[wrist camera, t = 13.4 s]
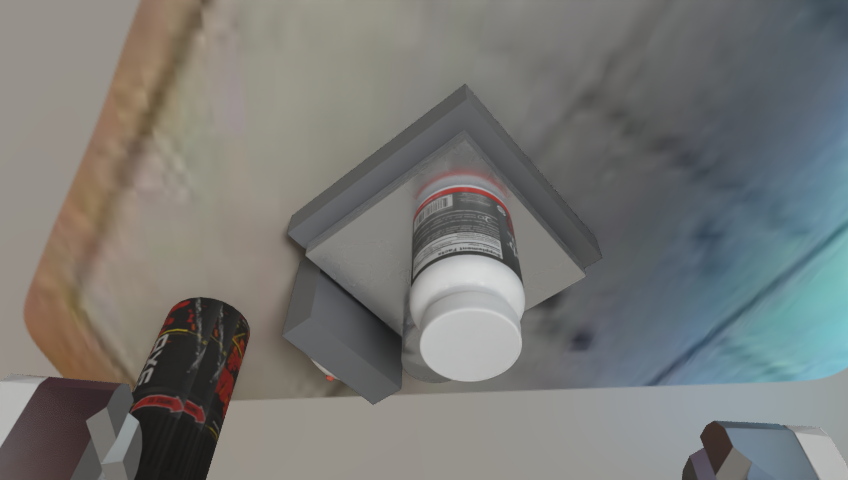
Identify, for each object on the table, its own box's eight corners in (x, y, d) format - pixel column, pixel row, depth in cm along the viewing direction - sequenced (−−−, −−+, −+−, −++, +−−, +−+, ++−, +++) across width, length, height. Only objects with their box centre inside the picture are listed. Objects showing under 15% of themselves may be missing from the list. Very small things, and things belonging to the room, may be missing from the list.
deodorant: (182, 285, 46) (95, 475, 34) (262, 317, 48) (206, 508, 36) (156, 337, 49) (68, 528, 37) (232, 366, 51) (171, 557, 39)
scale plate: (464, 129, 36) (465, 140, 35) (582, 263, 41) (586, 276, 40) (308, 243, 40) (305, 255, 39) (433, 350, 46) (433, 363, 45)
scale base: (465, 84, 37) (471, 143, 32) (595, 239, 44) (620, 311, 38) (259, 240, 44) (234, 313, 38) (398, 355, 50) (395, 432, 45)
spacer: (439, 279, 40) (440, 324, 37) (479, 316, 42) (483, 362, 39) (390, 309, 42) (387, 356, 39) (430, 344, 44) (430, 391, 41)
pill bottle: (504, 264, 40) (523, 394, 32) (409, 259, 40) (404, 388, 32) (518, 182, 36) (543, 304, 28) (414, 177, 36) (410, 297, 28)
